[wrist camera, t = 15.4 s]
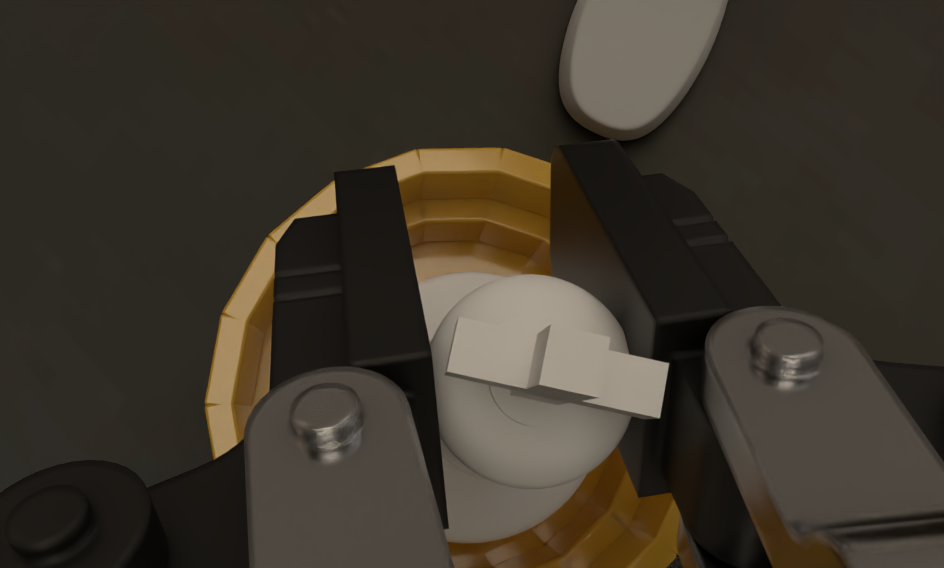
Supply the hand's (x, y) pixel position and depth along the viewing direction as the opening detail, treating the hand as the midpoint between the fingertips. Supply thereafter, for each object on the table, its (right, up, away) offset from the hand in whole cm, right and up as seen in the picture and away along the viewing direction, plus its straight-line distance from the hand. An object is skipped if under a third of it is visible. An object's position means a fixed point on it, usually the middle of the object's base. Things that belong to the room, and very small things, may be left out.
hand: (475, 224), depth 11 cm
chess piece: (0, -3, +5) cm, 6 cm away
